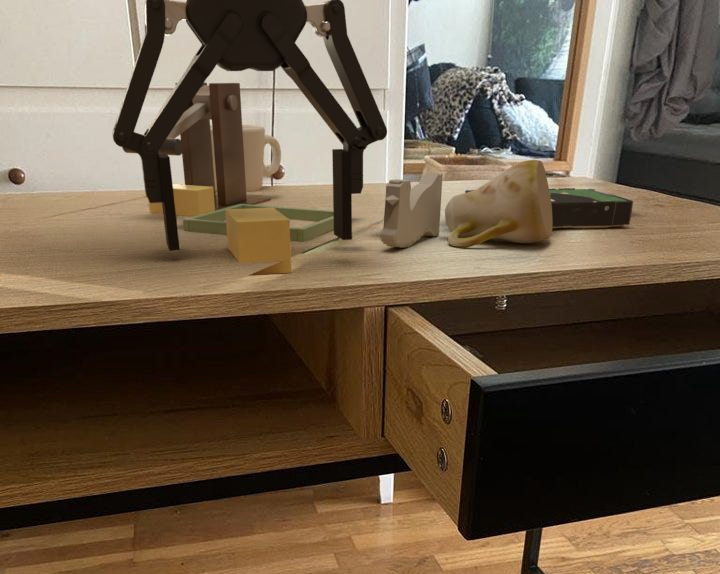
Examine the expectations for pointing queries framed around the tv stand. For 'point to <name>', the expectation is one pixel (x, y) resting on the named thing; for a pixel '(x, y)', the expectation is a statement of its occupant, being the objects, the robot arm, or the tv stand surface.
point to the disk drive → (588, 208)
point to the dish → (216, 219)
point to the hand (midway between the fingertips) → (260, 242)
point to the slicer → (218, 149)
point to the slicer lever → (186, 122)
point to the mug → (503, 208)
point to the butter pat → (259, 238)
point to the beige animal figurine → (411, 210)
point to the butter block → (189, 200)
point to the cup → (255, 156)
